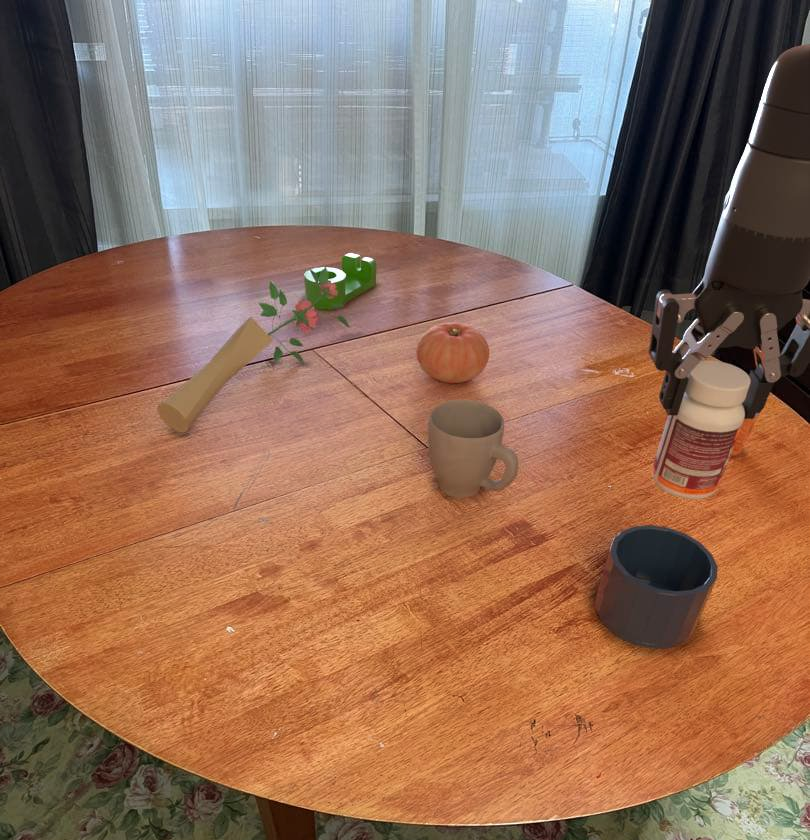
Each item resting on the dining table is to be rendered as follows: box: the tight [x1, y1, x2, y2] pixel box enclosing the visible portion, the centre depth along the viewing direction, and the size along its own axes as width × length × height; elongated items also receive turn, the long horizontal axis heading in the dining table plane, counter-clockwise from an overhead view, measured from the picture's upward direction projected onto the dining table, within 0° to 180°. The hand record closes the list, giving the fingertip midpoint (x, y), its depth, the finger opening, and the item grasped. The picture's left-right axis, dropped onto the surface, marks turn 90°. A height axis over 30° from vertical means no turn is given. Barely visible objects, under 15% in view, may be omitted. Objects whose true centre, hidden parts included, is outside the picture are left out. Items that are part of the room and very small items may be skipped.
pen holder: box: [594, 524, 719, 650], centre depth 77 cm, size 10×10×8 cm
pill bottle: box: [651, 360, 751, 500], centre depth 68 cm, size 6×6×11 cm
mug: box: [427, 399, 519, 499], centre depth 91 cm, size 12×9×10 cm
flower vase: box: [156, 266, 351, 434], centre depth 110 cm, size 12×12×35 cm
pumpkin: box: [416, 322, 490, 384], centre depth 113 cm, size 11×11×8 cm
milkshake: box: [730, 411, 762, 456], centre depth 101 cm, size 4×5×10 cm
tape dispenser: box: [304, 252, 377, 310], centre depth 136 cm, size 15×7×5 cm, turn 149°
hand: (707, 412), depth 67 cm, fingers closed on pill bottle, 6 cm apart
